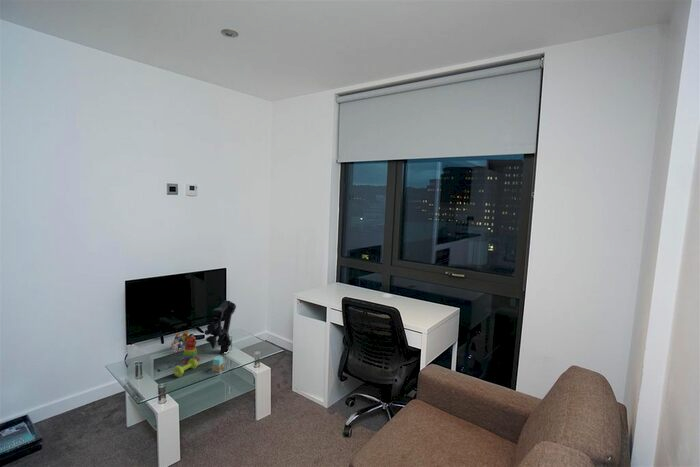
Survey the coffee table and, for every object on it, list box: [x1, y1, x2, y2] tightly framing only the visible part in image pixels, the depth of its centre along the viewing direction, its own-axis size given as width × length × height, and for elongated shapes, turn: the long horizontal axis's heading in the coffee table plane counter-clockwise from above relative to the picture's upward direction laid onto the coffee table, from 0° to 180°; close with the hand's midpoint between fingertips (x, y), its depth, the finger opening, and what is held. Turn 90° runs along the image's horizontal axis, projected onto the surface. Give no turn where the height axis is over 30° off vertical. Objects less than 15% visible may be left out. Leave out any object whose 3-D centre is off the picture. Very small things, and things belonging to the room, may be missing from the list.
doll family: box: [170, 331, 196, 355], centre depth 281 cm, size 21×10×13 cm, turn 150°
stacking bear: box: [183, 337, 201, 365], centre depth 263 cm, size 11×10×18 cm
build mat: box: [207, 368, 223, 375], centre depth 254 cm, size 10×10×1 cm
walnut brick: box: [211, 362, 225, 373], centre depth 253 cm, size 6×6×4 cm
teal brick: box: [212, 355, 224, 366], centre depth 253 cm, size 5×5×4 cm
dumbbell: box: [172, 358, 199, 378], centre depth 249 cm, size 16×8×7 cm, turn 156°
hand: (216, 345), depth 264 cm, fingers open, 9 cm apart
